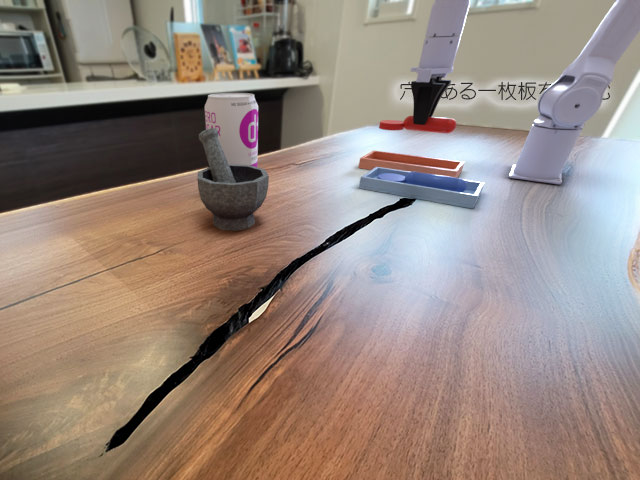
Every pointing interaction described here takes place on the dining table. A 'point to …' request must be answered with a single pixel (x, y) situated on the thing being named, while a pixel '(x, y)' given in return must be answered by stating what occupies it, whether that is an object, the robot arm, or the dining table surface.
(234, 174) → the mortar and pestle
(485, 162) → the dining table surface
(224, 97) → the white soda can
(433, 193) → the blue tray
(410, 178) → the blue spoon
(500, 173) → the dining table surface
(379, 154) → the red tray
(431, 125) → the red spoon
